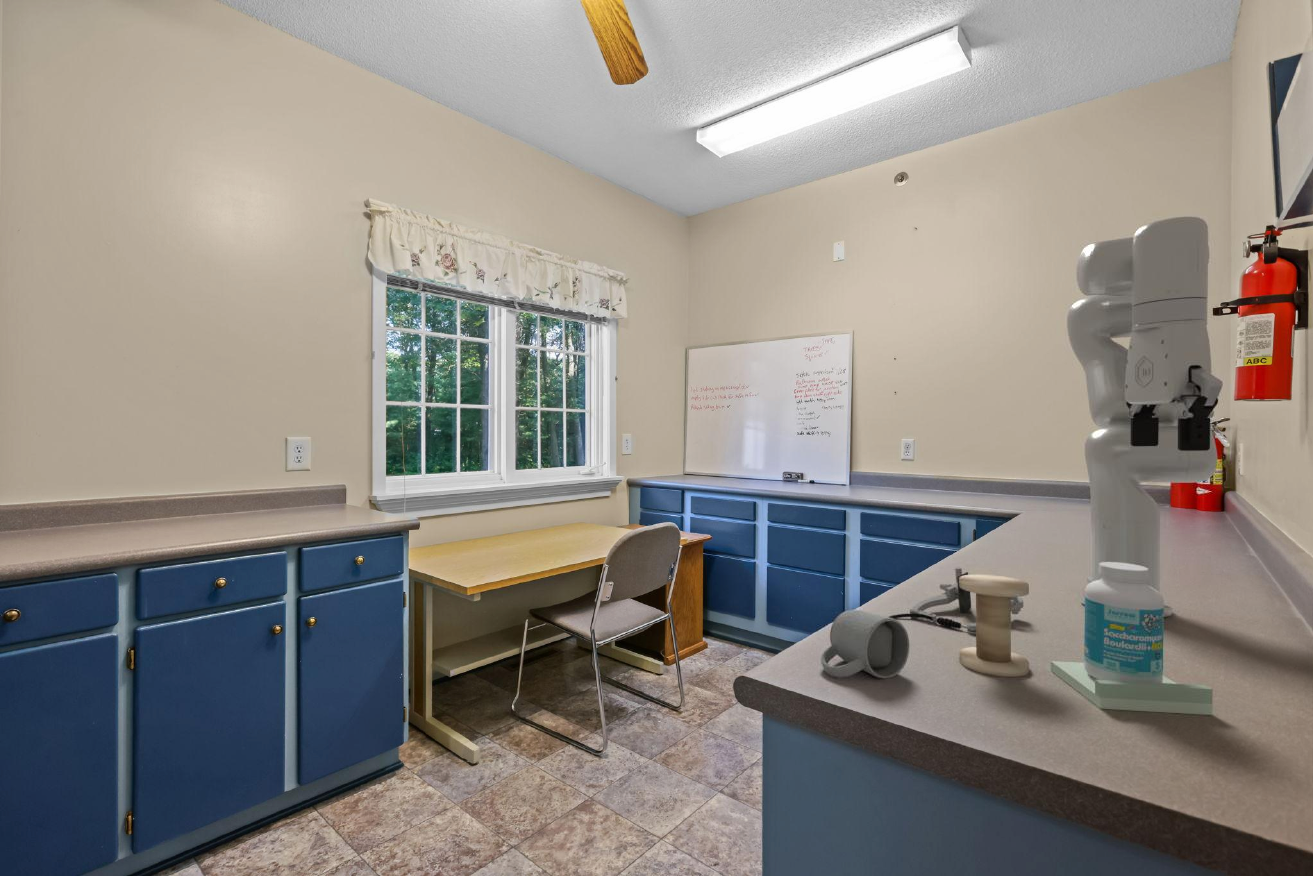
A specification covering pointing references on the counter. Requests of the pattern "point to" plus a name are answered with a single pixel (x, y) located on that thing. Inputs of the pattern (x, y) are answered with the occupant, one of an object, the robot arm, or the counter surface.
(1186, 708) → the board
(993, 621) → the bobbin
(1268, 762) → the counter surface
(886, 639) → the ceramic mug
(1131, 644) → the pill bottle
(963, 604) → the bike brake
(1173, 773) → the counter surface
